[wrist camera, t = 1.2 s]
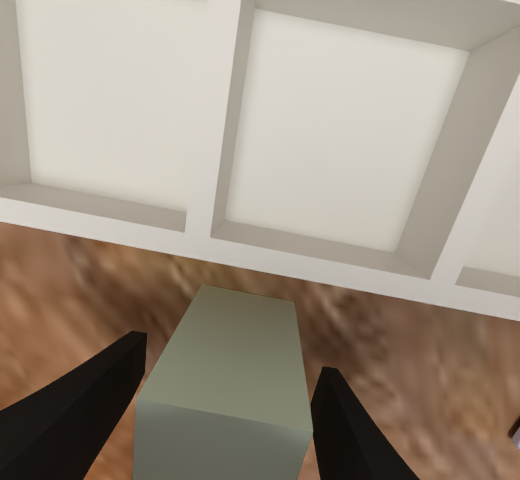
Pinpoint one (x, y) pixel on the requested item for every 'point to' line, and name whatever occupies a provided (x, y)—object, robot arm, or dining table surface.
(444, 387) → the dining table surface
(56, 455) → the robot arm
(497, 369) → the dining table surface
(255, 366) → the pale green block
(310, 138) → the white compartment tray
